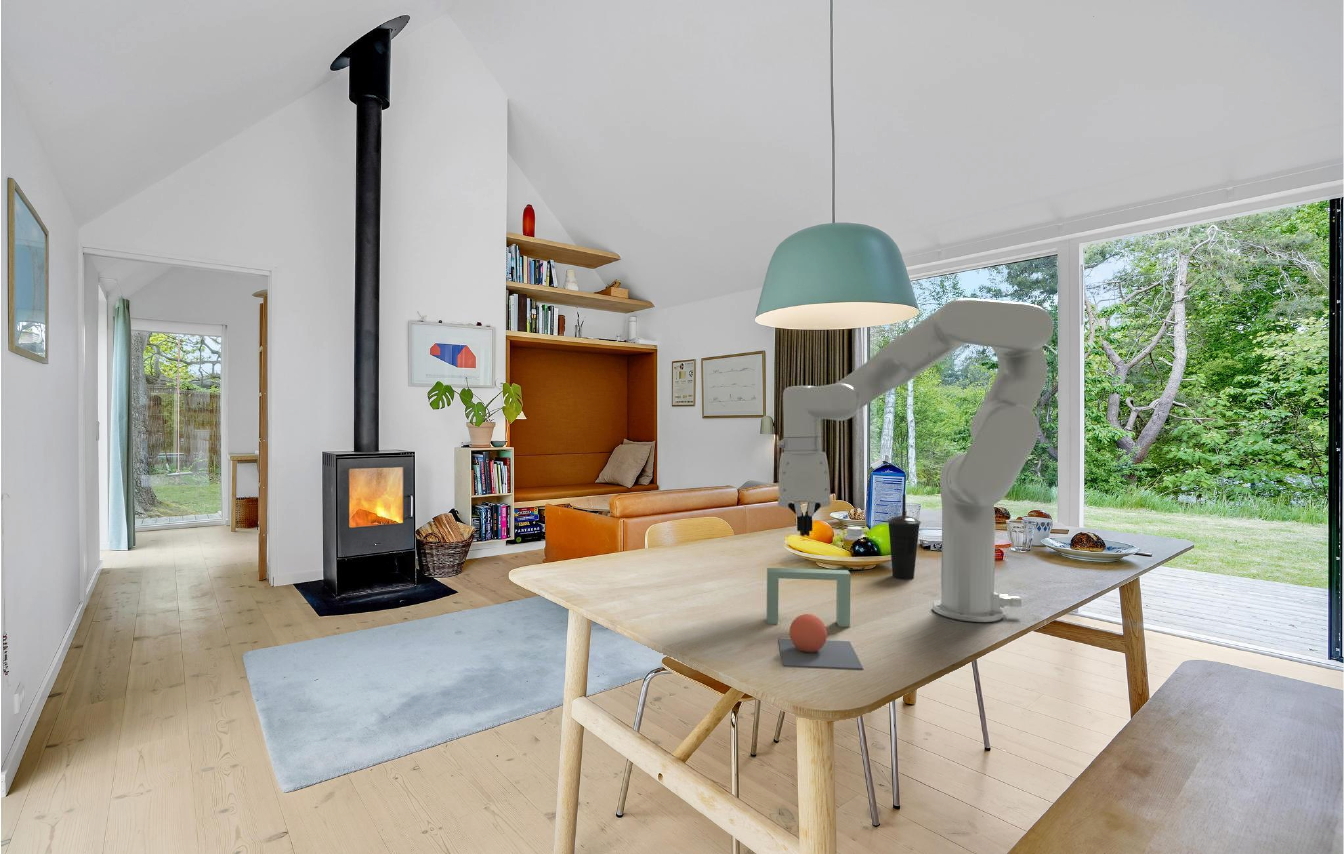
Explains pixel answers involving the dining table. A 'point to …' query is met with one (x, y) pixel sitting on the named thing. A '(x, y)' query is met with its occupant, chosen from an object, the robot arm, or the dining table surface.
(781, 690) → the dining table surface
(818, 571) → the bridge
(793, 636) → the ball
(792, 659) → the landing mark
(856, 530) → the supplement bottle
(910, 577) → the drinking cup
